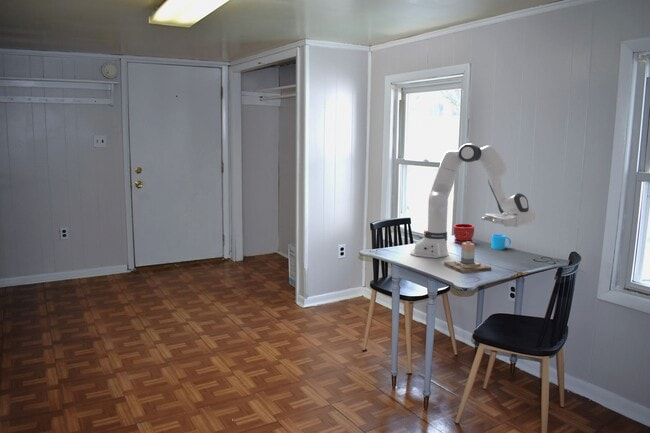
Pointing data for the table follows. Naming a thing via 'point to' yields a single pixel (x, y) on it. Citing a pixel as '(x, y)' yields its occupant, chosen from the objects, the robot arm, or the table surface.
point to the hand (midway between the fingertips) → (487, 220)
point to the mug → (499, 241)
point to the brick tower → (467, 253)
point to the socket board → (467, 266)
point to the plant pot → (463, 233)
